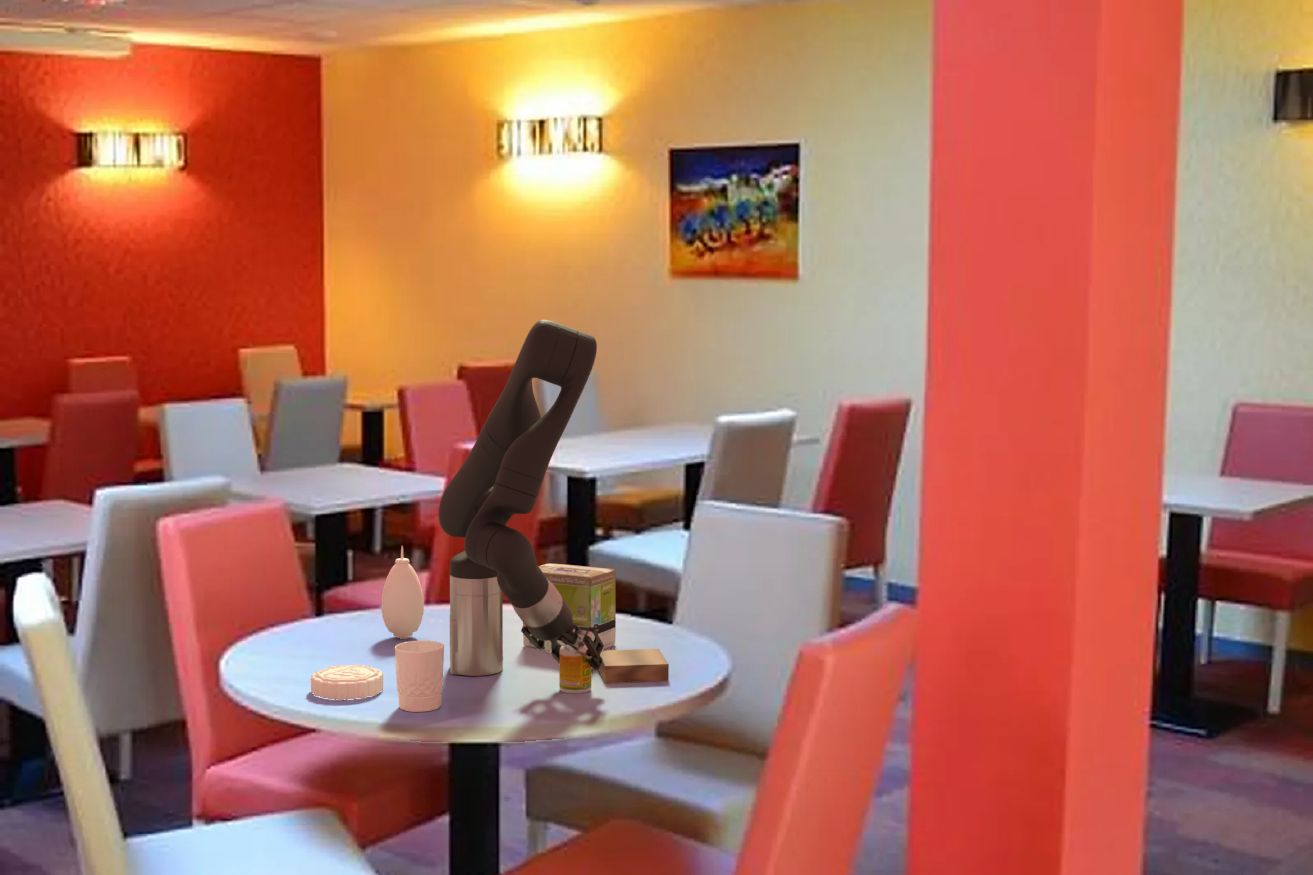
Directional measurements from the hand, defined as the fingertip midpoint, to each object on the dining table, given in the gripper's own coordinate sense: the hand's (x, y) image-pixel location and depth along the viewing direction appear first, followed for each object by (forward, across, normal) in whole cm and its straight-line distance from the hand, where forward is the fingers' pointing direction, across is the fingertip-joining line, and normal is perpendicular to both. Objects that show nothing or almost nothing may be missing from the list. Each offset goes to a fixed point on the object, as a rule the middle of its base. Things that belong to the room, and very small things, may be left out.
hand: (580, 662), depth 268 cm
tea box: (+20, +18, -13) cm, 30 cm away
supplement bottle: (+2, 0, +4) cm, 5 cm away
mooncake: (-13, +32, +20) cm, 39 cm away
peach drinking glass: (-14, +15, +20) cm, 29 cm away
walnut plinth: (+12, -3, -6) cm, 13 cm away
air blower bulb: (+11, +49, -5) cm, 50 cm away
